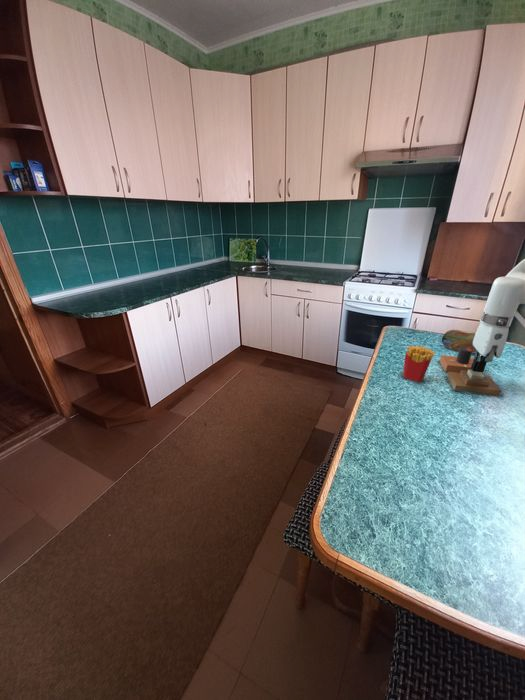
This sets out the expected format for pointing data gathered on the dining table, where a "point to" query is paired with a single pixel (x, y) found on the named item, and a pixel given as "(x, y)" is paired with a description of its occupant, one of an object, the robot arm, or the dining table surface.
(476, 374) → the key
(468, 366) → the volume box
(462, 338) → the tin
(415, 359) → the french fries
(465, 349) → the volume knob
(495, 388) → the stepped nested square plaque
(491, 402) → the dining table surface
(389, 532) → the dining table surface
